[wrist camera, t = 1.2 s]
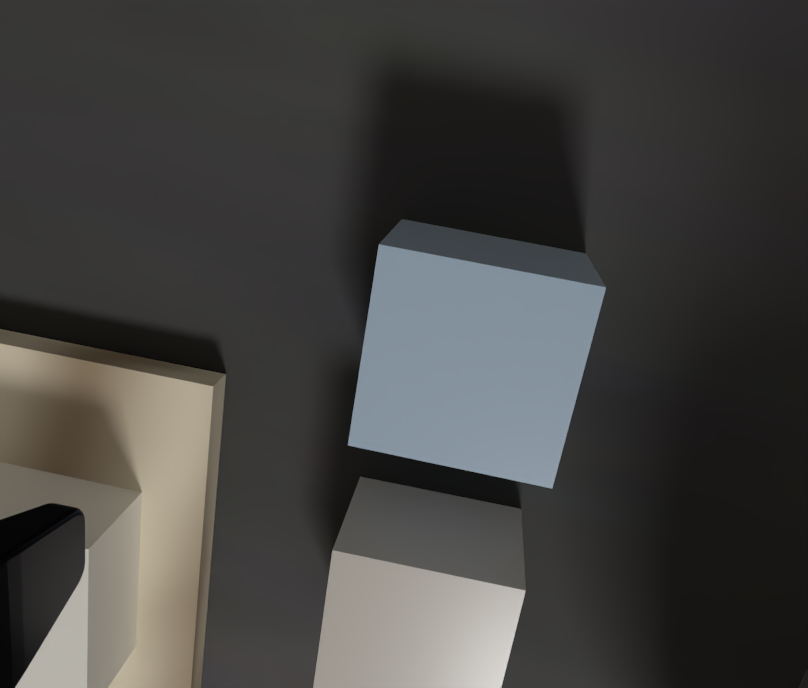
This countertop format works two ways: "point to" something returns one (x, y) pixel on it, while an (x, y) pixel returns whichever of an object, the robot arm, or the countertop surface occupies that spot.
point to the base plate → (129, 474)
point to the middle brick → (474, 351)
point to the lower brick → (85, 578)
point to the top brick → (421, 591)
